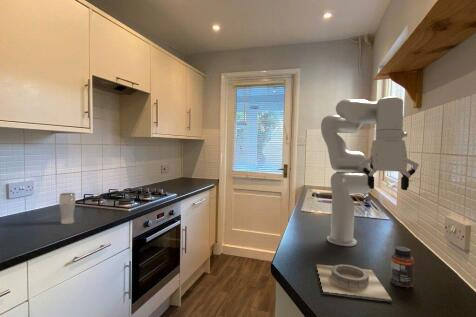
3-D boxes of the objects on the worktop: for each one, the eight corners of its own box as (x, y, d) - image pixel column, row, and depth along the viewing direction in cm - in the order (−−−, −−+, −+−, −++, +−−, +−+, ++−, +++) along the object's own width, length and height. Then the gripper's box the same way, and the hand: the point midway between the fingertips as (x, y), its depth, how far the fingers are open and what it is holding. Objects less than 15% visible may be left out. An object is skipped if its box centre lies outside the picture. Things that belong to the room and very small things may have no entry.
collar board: (316, 267, 94) (316, 257, 94) (371, 272, 91) (371, 262, 91) (322, 294, 76) (323, 282, 76) (391, 302, 73) (392, 290, 73)
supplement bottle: (404, 279, 87) (406, 245, 86) (417, 289, 81) (419, 252, 80) (386, 279, 87) (388, 244, 86) (397, 289, 81) (399, 252, 80)
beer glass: (73, 223, 137) (73, 194, 136) (57, 225, 134) (57, 195, 134) (76, 220, 143) (76, 192, 143) (61, 221, 141) (61, 192, 140)
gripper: (413, 137, 89) (412, 189, 89) (357, 137, 92) (356, 186, 92) (424, 135, 81) (423, 191, 81) (363, 135, 85) (361, 189, 85)
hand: (387, 189), depth 87 cm, fingers open, 9 cm apart
